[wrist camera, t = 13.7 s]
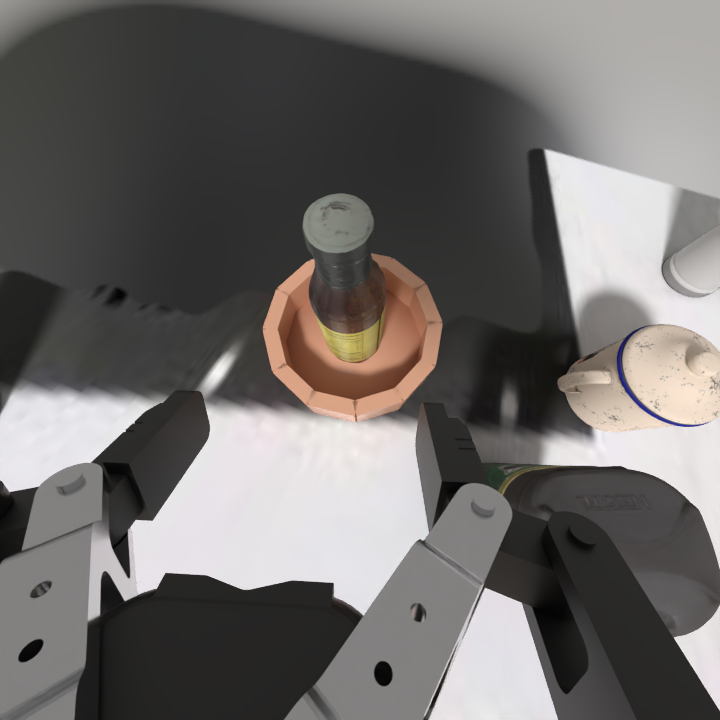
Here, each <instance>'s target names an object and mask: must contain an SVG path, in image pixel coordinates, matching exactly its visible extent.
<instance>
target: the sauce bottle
mask: <svg viewBox="0 0 720 720" xmlns="http://www.w3.org/2000/svg"><path fill="white" fill-rule="evenodd" d="M302 229H303V234H304V237H305V242H306V245H307V248H308V250H309V252H310V253H311V254H312V255H313V258H314V261H315V268H314V271H313V274H312V277H311V280H310V283H309V300H310V303H311V307H312V309H313V312H314V314H315V316H316V318H317V321H318V323H319V326H320V328H321V331H322V334H323V336H324V339H325V341H326V344H327V346H328V348H329V350H330V351H331V352H332V353H333V354H334V355H335V356H336V357H337V358H338V359H340V360H342V361H345V362H348V363H362V362H364V361H366V360H368V359H369V358H370V357H371V356H373V355H374V354H375V353H376V352H377V350H378V348H379V345H380V343H381V339H382V332H383V323H384V313H385V304H386V295H385V292H386V282H385V277H384V273H383V271H382V270H381V269H380V267H379V264H378V263H377V262H376V261H375V260H373V259H372V256H371V246H372V243H373V239H374V218H373V215H372V212H371V211H370V209H369V207H368V206H367V204H365V202H363V201H362V200H360V199H359V198H357V197H355V196H352V195H349V194H344V193H343V194H332V195H329V196H326V197H324V198H321V199H318V200H317V201H316V202H314V203H313V204H311V205H310V207H309V208H308V209H307V211H306V213H305V215H304V219H303V227H302Z"/></svg>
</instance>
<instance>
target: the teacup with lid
mask: <svg viewBox="0 0 720 720" xmlns="http://www.w3.org/2000/svg"><path fill="white" fill-rule="evenodd" d="M557 383H558V388H559V389H560V390H561V391H563V392H565V394H566V398H567V401H568V403H569V405H570V407H571V408H572V410H573V411H574V412H575V414H576V415H577V416H578V417H579V418H580V419H581V420H583V421H584V422H585V423H587V424H588V425H590V426H592V427H594V428H596V429H599V430H602V431H607V432H623V431H631V430H640V429H649V428H658V427H667V426H682V427H694V426H700V425H704V424H706V423H709V422H711V421H713V420H714V419H716V418H718V417H719V416H720V352H719V351H718V350H717V349H716V348H715V347H714V345H712V344H711V343H710V342H709V341H708V340H706V339H705V338H703V337H702V336H700V335H699V334H697V333H695V332H693V331H691V330H688V329H686V328H683V327H679V326H674V325H665V324H659V325H649V326H645V327H642V328H639V329H637V330H635V331H633V332H632V333H630V334H629V335H628V336H627V337H626V338H624V339H622V340H620V341H618V342H616V343H613V344H611V345H609V346H607V347H605V348H603V349H601V350H599V351H596V352H594V353H592V354H590V355H588V356H586V357H584V358H582V359H580V360H578V361H576V362H575V363H574V364H573V365H572V366H571V367H570V369H569V370H568V372H567V374H566V375H564V376H562V377H560V378H559V379H558V382H557Z"/></svg>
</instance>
